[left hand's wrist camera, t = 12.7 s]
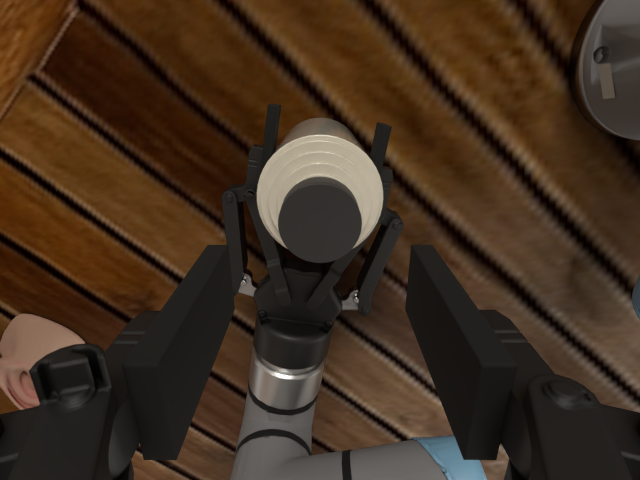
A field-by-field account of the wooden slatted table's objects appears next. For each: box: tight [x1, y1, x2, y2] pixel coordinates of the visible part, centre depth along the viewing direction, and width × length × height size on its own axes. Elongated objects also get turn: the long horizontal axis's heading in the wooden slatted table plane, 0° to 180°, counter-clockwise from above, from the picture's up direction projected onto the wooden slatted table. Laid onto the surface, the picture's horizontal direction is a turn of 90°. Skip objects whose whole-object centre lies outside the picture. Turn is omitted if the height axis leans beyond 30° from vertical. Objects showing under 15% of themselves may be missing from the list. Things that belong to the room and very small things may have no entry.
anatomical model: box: [0, 314, 85, 410], centre depth 45 cm, size 13×4×12 cm
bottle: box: [257, 118, 383, 249], centre depth 29 cm, size 8×8×19 cm
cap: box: [278, 177, 362, 263], centre depth 21 cm, size 4×4×2 cm
